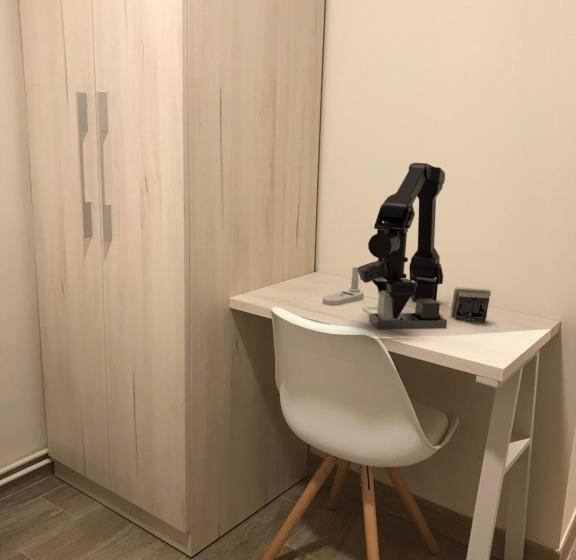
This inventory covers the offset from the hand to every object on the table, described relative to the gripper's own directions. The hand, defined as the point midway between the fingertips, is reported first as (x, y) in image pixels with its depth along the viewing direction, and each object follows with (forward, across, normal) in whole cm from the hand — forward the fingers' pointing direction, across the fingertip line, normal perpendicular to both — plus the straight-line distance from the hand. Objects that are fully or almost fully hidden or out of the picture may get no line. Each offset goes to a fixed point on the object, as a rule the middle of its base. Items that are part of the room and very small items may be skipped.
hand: (389, 313), depth 156 cm
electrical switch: (+4, -4, +24) cm, 25 cm away
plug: (+3, 0, 0) cm, 3 cm away
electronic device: (+4, -24, -6) cm, 25 cm away
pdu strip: (+4, 0, +5) cm, 6 cm away
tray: (+4, -11, +2) cm, 12 cm away
